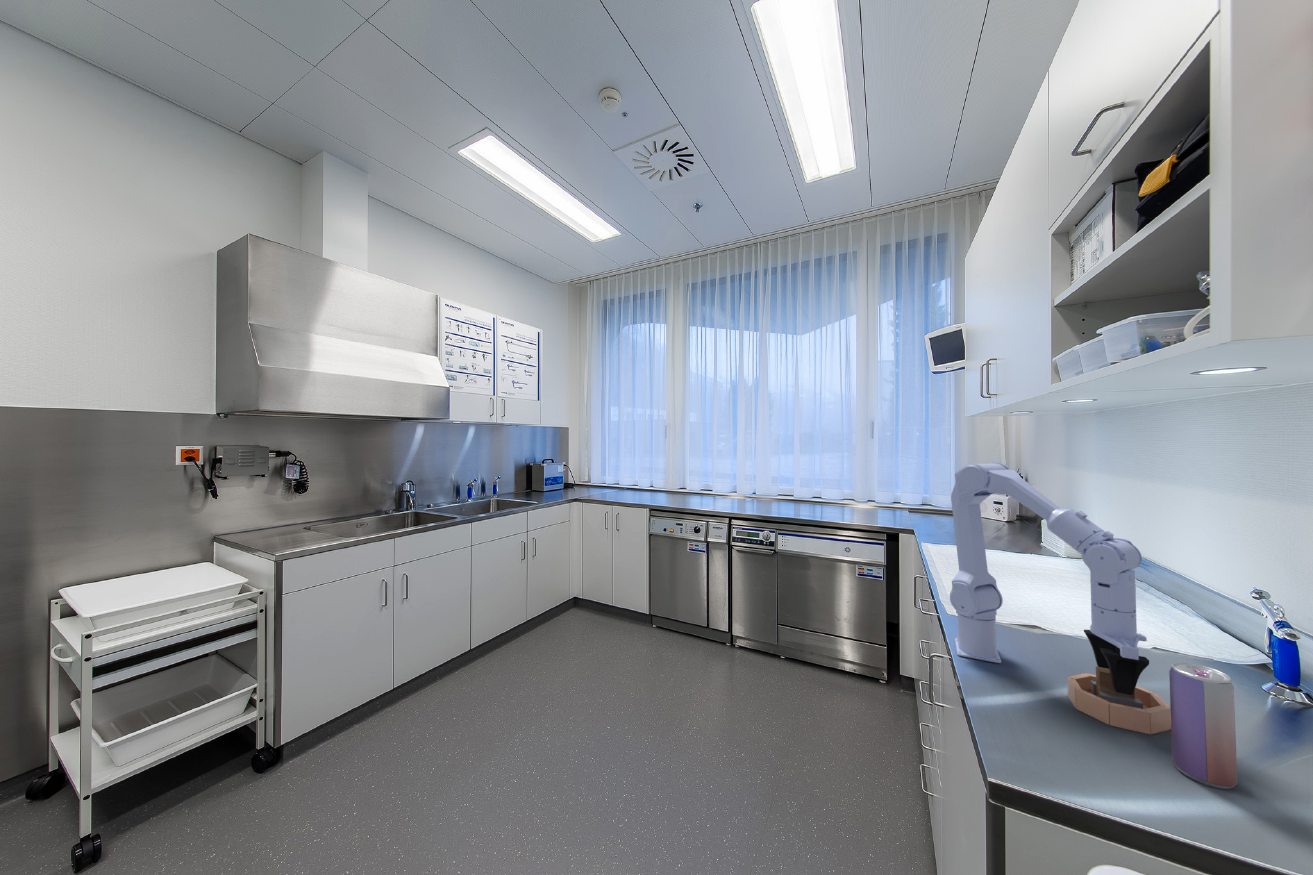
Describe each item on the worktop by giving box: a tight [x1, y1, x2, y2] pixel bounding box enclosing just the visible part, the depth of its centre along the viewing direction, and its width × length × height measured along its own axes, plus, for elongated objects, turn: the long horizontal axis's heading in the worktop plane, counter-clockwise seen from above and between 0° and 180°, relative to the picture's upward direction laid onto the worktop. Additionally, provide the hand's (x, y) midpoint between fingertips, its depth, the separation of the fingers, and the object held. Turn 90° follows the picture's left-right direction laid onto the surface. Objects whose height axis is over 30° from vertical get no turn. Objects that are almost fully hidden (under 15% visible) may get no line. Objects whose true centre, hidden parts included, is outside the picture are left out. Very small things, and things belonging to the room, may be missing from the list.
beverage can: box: [1168, 661, 1238, 790], centre depth 65 cm, size 6×6×15 cm
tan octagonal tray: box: [1066, 672, 1171, 735], centre depth 80 cm, size 12×12×4 cm
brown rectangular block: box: [1095, 666, 1135, 699], centre depth 80 cm, size 2×4×6 cm, turn 59°
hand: (1115, 682), depth 80 cm, fingers open, 7 cm apart
